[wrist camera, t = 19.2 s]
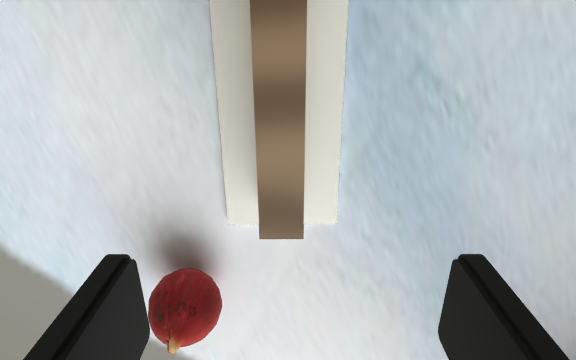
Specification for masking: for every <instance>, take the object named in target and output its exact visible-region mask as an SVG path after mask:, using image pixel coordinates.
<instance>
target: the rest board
mask: <svg viewBox="0 0 576 360" xmlns="http://www.w3.org/2000/svg"><path fill="white" fill-rule="evenodd" d="M348 3H349V0H307V43H306V107H305V170H304V224H336V221H337V203H338V184H339V166H340V148H341V130H342V112H343V93H344V75H345V57H346V39H347V21H348ZM209 6H210V18H211V30H212V42H213V53H214V65H215V77H216V89H217V101H218V113H219V124H220V136H221V148H222V160H223V172H224V184H225V195H226V207H227V219H228V225H259V212H258V188H257V164H256V140H255V116H254V92H253V68H252V44H251V20H250V0H209Z"/></svg>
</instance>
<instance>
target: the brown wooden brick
mask: <svg viewBox="0 0 576 360" xmlns="http://www.w3.org/2000/svg"><path fill="white" fill-rule="evenodd" d="M250 20H251V44H252V68H253V92H254V116H255V140H256V164H257V188H258V212H259V236H260V239H303V233H304V170H305V107H306V43H307V0H250Z"/></svg>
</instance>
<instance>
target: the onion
mask: <svg viewBox="0 0 576 360" xmlns="http://www.w3.org/2000/svg"><path fill="white" fill-rule="evenodd" d="M221 309H222V299H221V295H220V291H219V288H218V287H217V285H216V284H215V282H214V281H213V279H212V278H211V277H210V276H208V275H207V274H205V273H204V272H201V271H198V270H195V269H179V270H177V271H175V272H173V273H171V274H169V275H167V276H165V277H163V278H162V280H161V281H160V282H159V284H158V285H157V286H156V288H155V289H154V290H153V292H152V293H151V296H150V299H149V311H148V319H149V323H150V326H151V328H152V330H153V332H154V334H155V336H156V337H157V338H158V339H159V340H160V341H162V342H163V343H164V344H166V345H167V350H168V352H169V353H171V354H175V353H176V350H177V349H179V347H185V346H189V345H192V344H194V343H196V342H198V341H201V340H202V339H203V338H205V337H206V336H207V335H208V334H209V332H210V331H211V330H212V329H213V328H214V327H215V325H216V324H217V321H218V319H219V315H220V312H221Z"/></svg>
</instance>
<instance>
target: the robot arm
mask: <svg viewBox="0 0 576 360" xmlns="http://www.w3.org/2000/svg"><path fill="white" fill-rule="evenodd" d="M438 334H439V339H440V342H441V344H442V346H443V348H444V350H445V352H446V355H447V357H448V359H449V360H569V359H568V357H567V356H566V355H565V354H564V352H563V351H562V350H561V349H560V348H559V346H558V345H557V344H556V343H555V341H554V340H553V339H552V338H551V337H550V335H549V334H548V333H547V332H546V331H545V329H544V328H543V327H542V326H541V324H540V323H539V322H538V321H537V320H536V318H535V317H534V316H533V315H532V314H531V312H530V311H529V310H528V309H527V307H526V306H525V305H524V304H523V303H522V301H521V300H520V299H519V298H518V297H517V295H516V294H515V293H514V292H513V290H512V289H511V288H510V287H509V286H508V284H507V283H506V282H505V281H504V280H503V278H502V277H501V276H500V275H499V273H498V272H497V271H496V270H495V269H494V267H493V266H492V265H491V264H490V262H489V261H488V260H487V259H486V258H485V257H484V256H483V255H481V254H461V255H460V256H459V257H458V259H454V260H453V262H452V266H451V271H450V275H449V280H448V285H447V289H446V294H445V299H444V304H443V308H442V313H441V318H440V322H439V327H438ZM149 335H150V326H149V321H148V317H147V312H146V307H145V302H144V297H143V292H142V288H141V283H140V278H139V273H138V268H137V264H136V261H135V260H134V259H131V258H130V256H129V255H127V254H108V255H106V256H105V257H104V258H103V259H102V261H101V262H100V263H99V264H98V266H97V267H96V268H95V269H94V271H93V272H92V273H91V275H90V276H89V277H88V278H87V280H86V281H85V282H84V283H83V285H82V286H81V287H80V289H79V290H78V291H77V292H76V294H75V295H74V296H73V297H72V299H71V300H70V301H69V303H68V304H67V305H66V306H65V307H64V309H63V310H62V311H61V312H60V314H59V315H58V316H57V317H56V319H55V320H54V321H53V323H52V324H51V325H50V326H49V328H48V329H47V330H46V331H45V333H44V334H43V335H42V337H41V338H40V339H39V340H38V341H37V343H36V344H35V345H34V347H33V348H32V349H31V350H30V352H29V353H28V354H27V355H26V357H25V358H24V359H23V360H140V357H141V355H142V353H143V350H144V348H145V346H146V344H147V342H148V339H149Z"/></svg>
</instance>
